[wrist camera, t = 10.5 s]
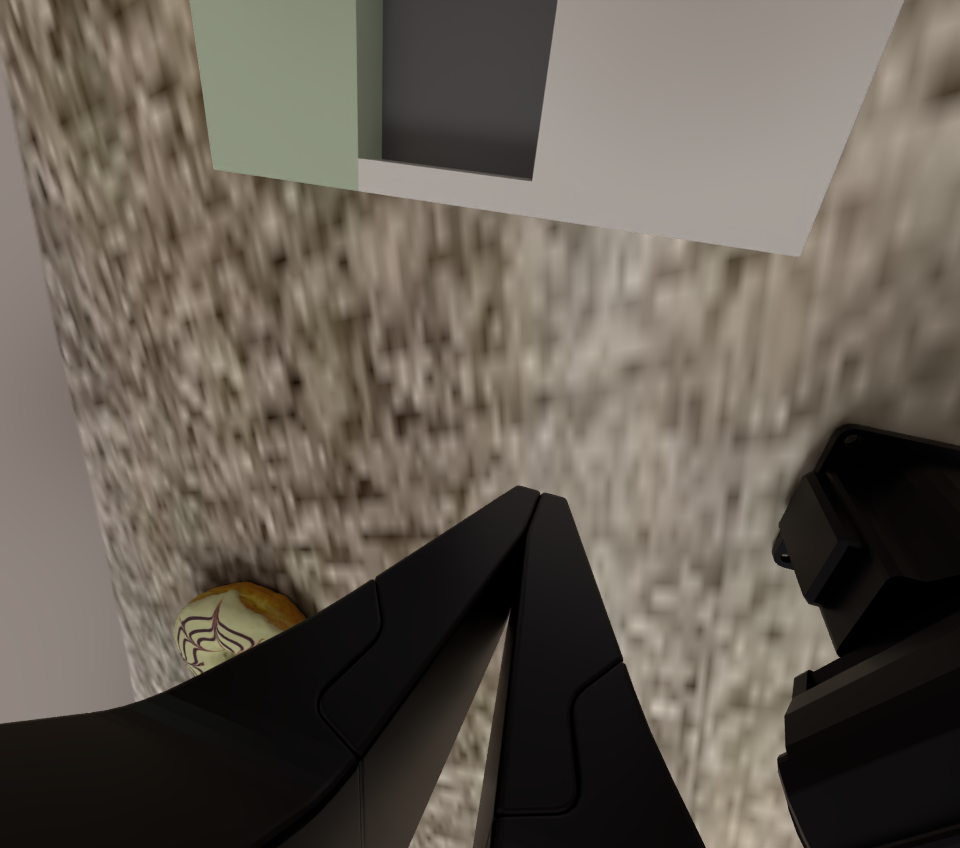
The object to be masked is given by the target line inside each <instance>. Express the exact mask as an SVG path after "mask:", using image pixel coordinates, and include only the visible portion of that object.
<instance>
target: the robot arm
mask: <svg viewBox="0 0 960 848" xmlns="http://www.w3.org/2000/svg"><path fill="white" fill-rule="evenodd" d="M851 435H857V439H856V440H855V441H853V442H850V443H845V442H844V440H845V439H846V438H847V437H848V436H851ZM779 528H780V531H781V533H780V535H779V536H778V538H777V540H776V542H775V544H774V546H773V548H772V555H773V558H774V561H775V563H777V564H778V565H779V566H781V567H784V568H788V569H792V570H794V571H795V574H796V577H797V580H798V583H799V586H800V588H801V591H802V594H803V596H804V598H805V599H806V601H807V602H808V604H810V605H814V606H817V607H819V608H820V611H821V613H822V616H823V619H824V621H825V624H826V627H827V629H828V632H829V635H830V637H831V640H832V643H833V645H834V648H835V651H836V653H837V655H838V656H839V657H840V658H839V659H837V660H835V661H833V662H831V663H829V664H827V665H826V666H824V667H822V668H820V669H818V670H816V671H814V672H813V671H811V670H808V671H806V672H804V673H802V674H800V675H798V676H797V677H795V678H794V685H793V695H792V701H791V703H790V705H789V707H788V709H787V712H786V714H785V747H786V752H785V753H783V754H781V755H779V757H778V758H777V762H778V773H779V777H780V780H781V783H782V787H783V790H784V793H785V797H786V800H787V804H788V809H789V812H790V815H791V818H792V821H793V824H794V826H795V829H796V832H797V834H798V836H799V838H800V840H801V843H802V845H803V847H804V848H960V446H957V445H952V444H947V443H942V442H938V441H933V440H928V439H924V438H919V437H914V436H909V435H905V434H900V433H895V432H890V431H886V430H881V429H876V428H871V427H867V426H862V425H857V424H846V425H842V426H841V427H839V428H837V429H836V430H835V432H834V433H833V435H832V436H831V438H830V440H829V442H828V444H827V446H826V448H825V450H824V452H823V453H822V455H821V457H820V459H819V461H818V463H817V465H816V467H815V469H814V470H813V471H811V472H809V473H808V474H806V475H804V476H803V478H802V480H801V482H800V484H799V486H798V488H797V490H796V492H795V494H794V496H793V497H792V499H791V501H790V503H789V505H788V507H787V509H786V511H785V513H784V515H783V517H782V519H781V520H780V522H779ZM785 553H788V554H789V556H782V555H783V554H785ZM509 614H510V616H509ZM508 617H509V621H508V627H507V632H506V638H505V644H504V651H503V657H502V663H501V670H500V676H499V683H498V689H497V696H496V702H495V708H494V715H493V721H492V728H491V734H490V741H489V747H488V753H487V760H486V766H485V773H484V779H483V786H482V792H481V799H480V805H479V811H478V818H477V824H476V831H475V837H474V844H473V848H706V847H705V845H704V843H703V841H702V839H701V837H700V835H699V832H698V830H697V828H696V826H695V824H694V822H693V820H692V818H691V816H690V814H689V812H688V810H687V808H686V806H685V804H684V802H683V800H682V797H681V795H680V793H679V791H678V789H677V787H676V785H675V783H674V781H673V779H672V777H671V774H670V772H669V770H668V768H667V766H666V764H665V761H664V759H663V757H662V755H661V753H660V751H659V748H658V746H657V744H656V742H655V740H654V737H653V735H652V733H651V731H650V728H649V726H648V723H647V721H646V718H645V715H644V713H643V710H642V708H641V705H640V703H639V700H638V698H637V695H636V693H635V690H634V687H633V684H632V681H631V679H630V676H629V673H628V670H627V667H626V665H625V664H624V663H623V657H622V654H621V651H620V648H619V646H618V643H617V640H616V637H615V634H614V632H613V629H612V626H611V623H610V620H609V617H608V615H607V612H606V609H605V606H604V603H603V601H602V598H601V595H600V592H599V589H598V586H597V584H596V581H595V578H594V575H593V572H592V570H591V567H590V564H589V561H588V558H587V556H586V553H585V550H584V547H583V544H582V541H581V539H580V536H579V533H578V530H577V527H576V525H575V522H574V519H573V516H572V513H571V510H570V508H569V505H568V502H567V500H566V499H565V498H564V497H560V496H556V495H553V494H549V493H542V494H541V496H540V492H539V491H537V490H534V489H530V488H527V487H523V486H516V487H514V488H512V489H511V490H509V491H508V492H506V493H505V494H503V495H501V496H500V497H498V498H497V499H495V500H494V501H492V502H491V503H489V504H488V505H486V506H484V507H483V508H481V509H480V510H478V511H477V512H475V513H474V514H472V515H471V516H469V517H467V518H466V519H464V520H463V521H461V522H460V523H458V524H457V525H455V526H454V527H452V528H450V529H449V530H447V531H446V532H444V533H443V534H441V535H440V536H438V537H437V538H435V539H434V540H432V541H430V542H429V543H427V544H426V545H424V546H423V547H421V548H420V549H418V550H417V551H415V552H413V553H412V554H410V555H409V556H407V557H406V558H404V559H403V560H401V561H400V562H398V563H396V564H395V565H393V566H392V567H390V568H389V569H387V570H386V571H384V572H383V573H381V574H379V575H378V576H376V578H375V580H370V581H368V582H367V583H365V584H364V585H362V586H361V587H359V588H357V589H356V590H354V591H353V592H351V593H350V594H348V595H346V596H345V597H343V598H341V599H340V600H338V601H336V602H335V603H333V604H331V605H330V606H328V607H327V608H325V609H323V610H322V611H320V612H318V613H316V614H314V615H313V616H311V617H309V618H307V619H305V620H303V621H301V622H300V623H298V624H296V625H294V626H292V627H290V628H289V629H287V630H285V631H283V632H281V633H279V634H277V635H275V636H273V637H271V638H269V639H267V640H266V641H264V642H262V643H260V644H258V645H256V646H254V647H252V648H250V649H248V650H246V651H244V652H242V653H240V654H238V655H236V656H234V657H232V658H230V659H228V660H226V661H224V662H222V663H221V664H219V665H217V666H215V667H213V668H211V669H209V670H207V671H205V672H203V673H201V674H199V675H197V676H195V677H193V678H191V679H189V680H187V681H185V682H183V683H181V684H179V685H177V686H175V687H173V688H171V689H169V690H166V691H164V692H162V693H159V694H157V695H154V696H152V697H149V698H147V699H144V700H141V701H138V702H135V703H132V704H129V705H125V706H122V707H118V708H113V709H109V710H105V711H98V712H92V713H85V714H76V715H68V716H60V717H52V718H44V719H36V720H28V721H19V722H11V723H3V724H0V848H408V847H409V845H410V842H411V840H412V838H413V835H414V833H415V831H416V829H417V826H418V824H419V822H420V820H421V817H422V815H423V813H424V810H425V808H426V806H427V804H428V801H429V799H430V797H431V794H432V792H433V790H434V788H435V785H436V783H437V781H438V778H439V776H440V774H441V772H442V769H443V767H444V765H445V763H446V760H447V758H448V756H449V753H450V751H451V749H452V747H453V744H454V742H455V740H456V737H457V735H458V733H459V731H460V728H461V726H462V724H463V721H464V719H465V717H466V715H467V712H468V710H469V708H470V706H471V703H472V701H473V699H474V696H475V694H476V692H477V690H478V687H479V685H480V683H481V680H482V678H483V676H484V674H485V671H486V669H487V667H488V664H489V662H490V660H491V658H492V655H493V653H494V651H495V649H496V646H497V644H498V642H499V639H500V637H501V635H502V632H503V630H504V627H505V625H506V623H507V620H508Z"/></svg>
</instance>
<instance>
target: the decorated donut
mask: <svg viewBox="0 0 960 848" xmlns="http://www.w3.org/2000/svg"><path fill="white" fill-rule="evenodd" d="M305 619H306V617H305V616H304V614H303V613H301V612H300V611H299V610H298V608H297V607H296V605H295V604H294V603H292V602H291V601H290V600H289V599H288V597H286V596H285V595H283V594H280V593H275V592H274V591H272V590H270V589H268V588H265V587H263V586H258V585H256V584H254V583H251V582H239V583H232V584H229V585H224V586H219V587H215V588H213V589H210V590H208V591H206V592H205V593H203V594H200V595H198V596H197V597H195V598H194V599H193V600H192V601H191V602H190V603H189V604H188V605H187V606H186V607H185V608H183V610H182V611H181V612H180V614H179V616H178V618H177V620H176V622H175V630H174V638H175V641H176V644H177V647H178V649H179V652H180V655H181V657H182V658H183V660H184V662H185V663H186V665H187V666H188V668H189V669H190V670H191V672H192V673H193V674H194V676H197V675H199V674H201V673H203V672H205V671H207V670H209V669H211V668H213V667H215V666H217V665H219V664H221V663H222V662H224V661H226V660H228V659H230V658H232V657H234V656H236V655H238V654H240V653H242V652H244V651H246V650H248V649H250V648H252V647H254V646H256V645H258V644H260V643H262V642H264V641H266V640H267V639H269V638H271V637H273V636H275V635H277V634H279V633H281V632H283V631H285V630H287V629H289V628H290V627H292V626H294V625H296V624H298V623H300V622H301V621H303V620H305Z"/></svg>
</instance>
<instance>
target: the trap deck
mask: <svg viewBox="0 0 960 848" xmlns="http://www.w3.org/2000/svg"><path fill="white" fill-rule="evenodd" d="M903 3H904V0H190V7H191V14H192V21H193V28H194V35H195V42H196V49H197V56H198V64H199V71H200V78H201V85H202V92H203V99H204V106H205V113H206V120H207V127H208V134H209V141H210V148H211V155H212V162H213V169H215V170H221V171H228V172H235V173H241V174H248V175H255V176H261V177H268V178H275V179H281V180H288V181H295V182H302V183H308V184H315V185H322V186H328V187H335V188H342V189H348V190H355V191H362V192H368V193H375V194H382V195H388V196H395V197H402V198H408V199H415V200H422V201H429V202H435V203H442V204H449V205H455V206H462V207H469V208H475V209H482V210H489V211H495V212H502V213H509V214H515V215H522V216H529V217H535V218H542V219H549V220H556V221H562V222H569V223H576V224H582V225H589V226H596V227H602V228H609V229H616V230H622V231H629V232H636V233H642V234H649V235H656V236H662V237H669V238H676V239H683V240H689V241H696V242H703V243H709V244H716V245H723V246H729V247H736V248H743V249H749V250H756V251H763V252H769V253H776V254H783V255H789V256H796V257H800V255H801V252H802V250H803V247H804V245H805V243H806V240H807V238H808V235H809V233H810V230H811V228H812V225H813V223H814V221H815V218H816V216H817V213H818V211H819V208H820V206H821V203H822V201H823V198H824V196H825V194H826V191H827V189H828V186H829V184H830V181H831V179H832V176H833V174H834V172H835V169H836V167H837V164H838V162H839V159H840V157H841V154H842V152H843V150H844V147H845V145H846V142H847V140H848V137H849V135H850V132H851V130H852V127H853V125H854V123H855V120H856V118H857V115H858V113H859V110H860V108H861V105H862V103H863V101H864V98H865V96H866V93H867V91H868V88H869V86H870V83H871V81H872V78H873V76H874V74H875V71H876V69H877V66H878V64H879V61H880V59H881V56H882V54H883V52H884V49H885V47H886V44H887V42H888V39H889V37H890V34H891V32H892V29H893V27H894V25H895V22H896V20H897V17H898V15H899V12H900V10H901V7H902V5H903Z"/></svg>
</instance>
